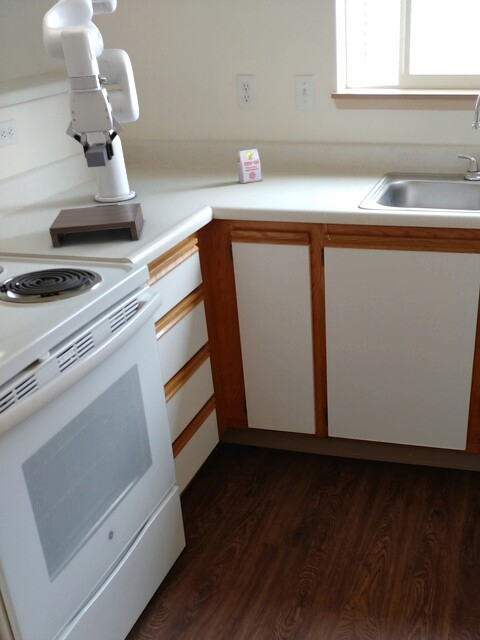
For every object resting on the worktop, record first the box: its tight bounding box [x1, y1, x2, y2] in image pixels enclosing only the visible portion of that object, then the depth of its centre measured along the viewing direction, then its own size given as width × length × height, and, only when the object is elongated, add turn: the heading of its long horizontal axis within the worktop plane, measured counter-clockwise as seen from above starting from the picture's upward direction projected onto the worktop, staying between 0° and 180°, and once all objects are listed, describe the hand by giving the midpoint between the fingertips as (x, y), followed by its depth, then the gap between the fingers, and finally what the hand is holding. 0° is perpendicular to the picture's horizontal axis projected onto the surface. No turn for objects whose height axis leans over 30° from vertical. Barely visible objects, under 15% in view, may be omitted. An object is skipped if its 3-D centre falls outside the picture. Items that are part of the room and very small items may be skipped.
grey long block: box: [84, 142, 109, 168], centre depth 198 cm, size 14×4×4 cm, turn 7°
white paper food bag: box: [236, 148, 262, 185], centre depth 252 cm, size 4×7×10 cm, turn 116°
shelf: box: [48, 202, 144, 248], centre depth 207 cm, size 20×22×5 cm
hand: (100, 159), depth 198 cm, fingers closed on grey long block, 4 cm apart
